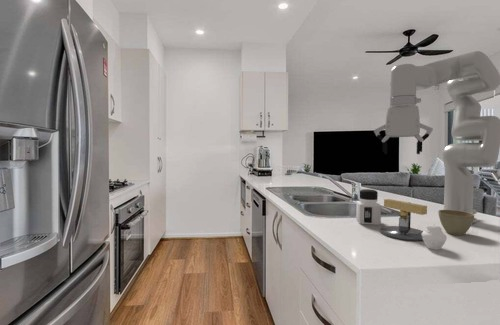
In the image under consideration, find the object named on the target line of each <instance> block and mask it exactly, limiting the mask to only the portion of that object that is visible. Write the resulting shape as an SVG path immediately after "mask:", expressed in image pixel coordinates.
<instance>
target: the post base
mask: <svg viewBox="0 0 500 325" xmlns="http://www.w3.org/2000/svg"><path fill="white" fill-rule="evenodd" d="M408 203H411V202H409V201H408ZM411 215H412V214H411V212H408V216H409V218H401V217H400V216H399V218H398V225H387V226H382V227H381V228H380V233H381V234H382V235H383V236H386V237H388V238H391V239H395V240H401V241H406V242H408V241H410V242H422V241H423V239H422V238H423V237H422V232H423V231H424V230H421V229H419V228H414V227H411V218H412V216H411ZM423 242H424V241H423Z"/></svg>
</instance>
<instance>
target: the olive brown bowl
mask: <svg viewBox="0 0 500 325" xmlns="http://www.w3.org/2000/svg"><path fill="white" fill-rule="evenodd" d="M437 214H438V218H439V221H440V223H441V226H442V229H443V230H445V232H446V233H447V234H450V235H453V236H464V235H466V233H467V232H468V231H469V229H470V228H471V227H472V224H473V223H472V222H473V220H474V218H475V214H472V213H469V212H464V211H458V210H444V209H438V212H437Z"/></svg>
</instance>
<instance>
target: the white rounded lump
mask: <svg viewBox="0 0 500 325" xmlns="http://www.w3.org/2000/svg"><path fill="white" fill-rule="evenodd" d="M422 231H423V232H422V237H423V238H422V239H423V243H424V244H425V246H426V248H427V249H429V250H432V251H433V250H434V251H440V250H441V249H442V247H443V246H444V245H445V243H446V241H447V235H446V234H445V233H444V232H443V231H442V228H441V227H440V226H439V225H437V224H429V225H427V226H426V229H424V230H422Z"/></svg>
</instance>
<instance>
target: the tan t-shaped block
mask: <svg viewBox="0 0 500 325" xmlns="http://www.w3.org/2000/svg"><path fill="white" fill-rule="evenodd" d="M408 202H409V201H408ZM408 202H407V201H401V200H396V199H390V198H384V199H383V207H384V208H387V209H394V210H398V211H399V212H400V213H398V217H399V218H400V217H401V218H409V216H408V212H411V213H412V214H416V215H421V216H424V215H428V205H423V204H417V203H414V202H413V203H412V202H410V203H408Z"/></svg>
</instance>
